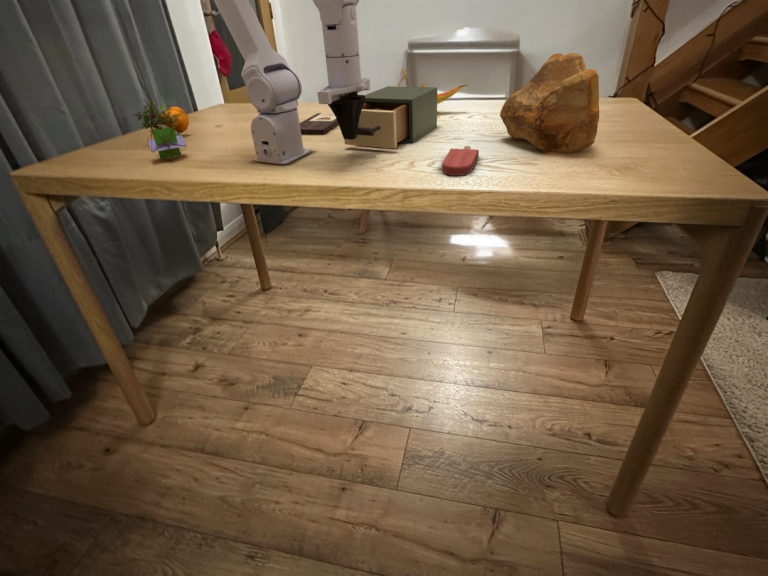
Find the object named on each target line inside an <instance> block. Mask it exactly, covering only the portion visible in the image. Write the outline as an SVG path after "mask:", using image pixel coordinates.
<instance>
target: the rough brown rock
mask: <svg viewBox="0 0 768 576" xmlns="http://www.w3.org/2000/svg"><path fill="white" fill-rule="evenodd" d="M599 87H600V78H599V74H598V72H597V70H595V69H593V68H587V67H586V63H585V58H584V57H583V56H582V55H581V54H579V53H575V52H571V53H570V52H569V53H567V54H563V53H553V54H552V55H550V56H549V57H548V58H547V59H546V61H545V62H544V63H543V65H541V67H540V68H539V70H537V72H536V73H535V74H534V75H533V76H532V78H531V79H530V80H529V81H528V82H527V84H526V85H525V86H524V87H522V88H521V89H519V90H516V91H514V93H512V94H510V96H509V97H508V98H507V99H506V100H505V101H504V104H503V105H502V107H501V109H500V112H499V117H500V119H501V120H502V123H503V124H504V126H505V128H506V131H507V135H509V136H510V137H512V138H514V139H521V140H522V139H524V140H526V141H527V142H529V143H530V144H532V145H533V146H534V147H535V148H537V149H539V150H540V151H543V152H545V153H551V152H553V151H558V152H559V153H572V152H576V151H582V150H585V149H587V148H589V147H591V146H592V145H593V144H594V143H595V140H596V136H597V133H598V128H599V121H600V88H599Z"/></svg>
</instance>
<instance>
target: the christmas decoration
mask: <svg viewBox="0 0 768 576" xmlns="http://www.w3.org/2000/svg"><path fill="white" fill-rule="evenodd" d="M144 102H145V105H144V106H143V111H142V113H141V112H139V111H137V112H136V113H135V114H134V113H132V114H131V116H135V117H137V120H139V121H141V120H143V122H141V124H142V125H141V126H142V127H141V128H140V130H142V129H145V130H148V129H150V131H149V132H151V130H156V129H161V126H160V125H162V126H166V127H169V126H170V127H174V128H175V129H174V130H175V131H177V132H178V133H180V134H182V133H184V132H187V130H188V128H189V125H190V121H189V119H190V118H189V116H188V114H187V113H186V111H185V110H184V109H182V108H181V107H179V106H171V107H169V108H168V109H167V104H166V102H164V103H163V105H161V106H157V107H155V105H156V104H157V101H155V97H153V98H152V100H151V101H149V102H148V101H147V100H146V99H144ZM216 125H217V126H220V123H217V124H216ZM158 126H159V127H158Z"/></svg>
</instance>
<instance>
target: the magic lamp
mask: <svg viewBox="0 0 768 576" xmlns="http://www.w3.org/2000/svg"><path fill="white" fill-rule="evenodd" d="M400 75H401V77H402V78H401V79H400V80H399V82H398V85H397V87H400V85H401V83H402V81H403V80H404V81H405V84H406V87H410V84H409V82H408V77H407V75H408V70H406V69H401V72H400ZM468 86H469V85H468V84H462V85H459V86H457V87H454V88H452V89H449V90H448V91H445V92H440V93H437V105H439V104H441V103H443V102H445V101H447V100H448V99H450V98H451V97H453V96H454V95H455V94H457V93H458V92H459V91H460V90H462V89H463V88H465V87H468ZM420 87H426V85H425V83H421V85H420Z"/></svg>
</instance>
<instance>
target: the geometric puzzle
mask: <svg viewBox="0 0 768 576" xmlns="http://www.w3.org/2000/svg"><path fill="white" fill-rule="evenodd" d="M160 126H161V129H156V130H151V129H150V130H151V132H150V131H149V132H150V133H149V134H150V136H148V139H147V140H146V142H147V143H148V147H149V149H150V153H151V154H153V155H155V153H156V152H157V153H156V156H158V158H159V159H160V160H162V161H164V160H165V159H169V158H171V159H170V161H171V162H175V160H177V159H179V157H182V156H183V155H182V154H183V153H184V151H185V150H186V147H187V143H186V141H185V139H184V137H183V134H182V133H178V132H177V131H175V130H174V129H175V128H174V127H170V126H169V127H167V126H164V125H160ZM158 127H159V125H158ZM182 148H183V149H182Z"/></svg>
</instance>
